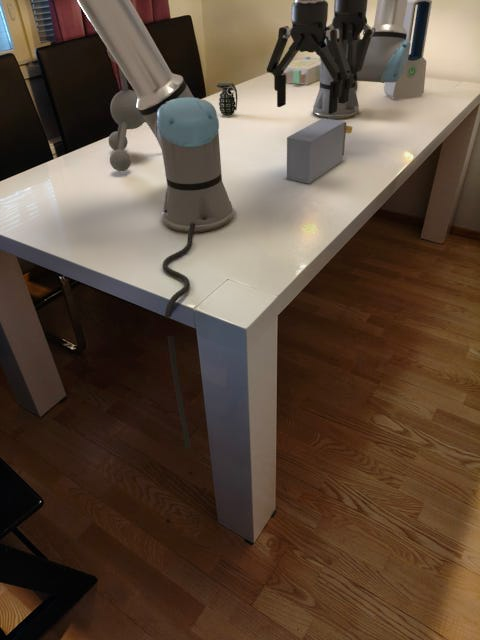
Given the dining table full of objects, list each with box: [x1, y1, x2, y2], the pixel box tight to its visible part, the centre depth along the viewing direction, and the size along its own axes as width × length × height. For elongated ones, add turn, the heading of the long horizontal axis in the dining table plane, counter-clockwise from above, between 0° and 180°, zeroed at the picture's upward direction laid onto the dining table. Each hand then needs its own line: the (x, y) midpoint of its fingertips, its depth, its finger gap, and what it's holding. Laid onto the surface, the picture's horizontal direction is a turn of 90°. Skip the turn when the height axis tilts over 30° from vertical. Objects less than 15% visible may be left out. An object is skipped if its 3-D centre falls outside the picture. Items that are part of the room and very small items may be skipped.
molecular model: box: [106, 47, 146, 172], centre depth 131 cm, size 24×22×30 cm
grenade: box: [215, 82, 238, 117], centre depth 166 cm, size 7×6×10 cm
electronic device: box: [383, 0, 433, 100], centre depth 169 cm, size 12×8×30 cm, turn 105°
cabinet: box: [286, 118, 346, 185], centre depth 123 cm, size 18×6×10 cm, turn 144°
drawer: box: [342, 121, 353, 157], centre depth 126 cm, size 22×5×8 cm, turn 144°
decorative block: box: [282, 56, 321, 86], centre depth 206 cm, size 26×6×20 cm
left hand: (306, 109), depth 114 cm, fingers open, 13 cm apart
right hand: (343, 101), depth 126 cm, fingers closed
